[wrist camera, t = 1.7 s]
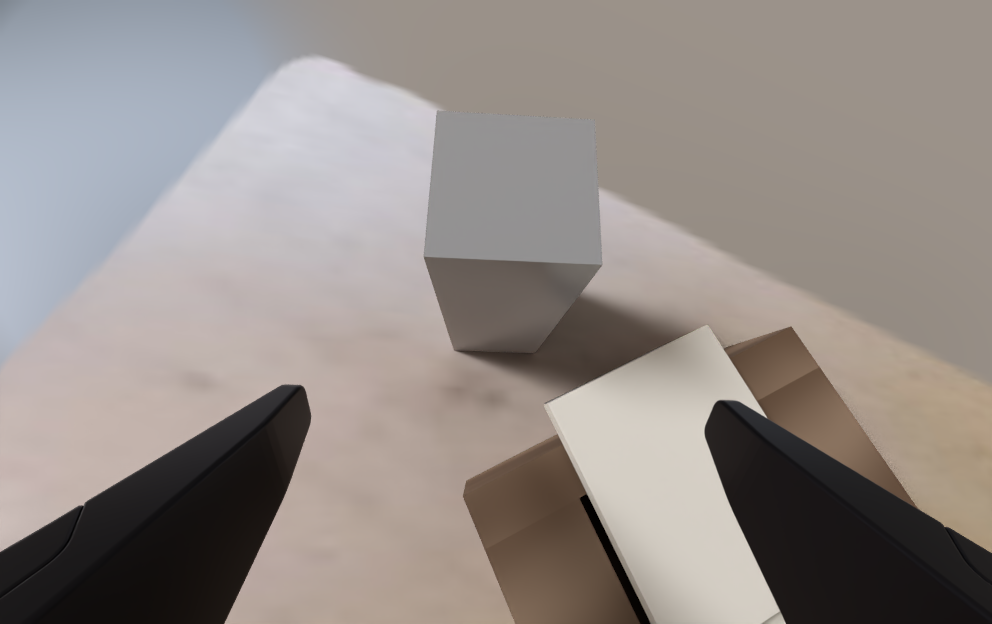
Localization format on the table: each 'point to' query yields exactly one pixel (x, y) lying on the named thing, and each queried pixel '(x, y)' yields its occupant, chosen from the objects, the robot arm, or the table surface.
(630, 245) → the table surface
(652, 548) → the panel
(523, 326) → the grey stone block
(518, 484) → the box
